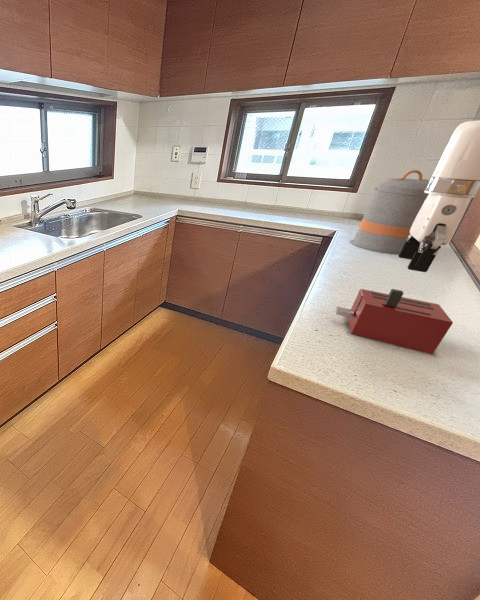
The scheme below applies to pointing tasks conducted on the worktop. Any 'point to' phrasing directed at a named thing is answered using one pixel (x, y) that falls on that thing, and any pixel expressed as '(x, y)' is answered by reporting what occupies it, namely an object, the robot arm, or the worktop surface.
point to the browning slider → (393, 298)
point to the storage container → (391, 214)
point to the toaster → (399, 321)
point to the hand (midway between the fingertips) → (411, 264)
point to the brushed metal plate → (344, 312)
